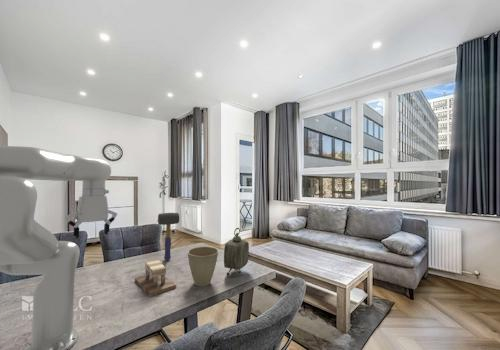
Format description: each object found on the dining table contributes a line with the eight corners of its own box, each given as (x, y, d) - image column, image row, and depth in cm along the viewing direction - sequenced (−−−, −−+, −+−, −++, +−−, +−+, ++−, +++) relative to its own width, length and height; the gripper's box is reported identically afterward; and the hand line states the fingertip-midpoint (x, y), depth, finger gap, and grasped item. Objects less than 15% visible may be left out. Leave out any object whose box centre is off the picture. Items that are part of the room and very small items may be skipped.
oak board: (165, 274, 107) (165, 268, 107) (152, 277, 104) (152, 270, 104) (157, 265, 118) (157, 259, 119) (145, 267, 115) (145, 261, 115)
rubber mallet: (157, 263, 138) (159, 214, 139) (156, 259, 144) (157, 212, 145) (178, 260, 144) (180, 213, 145) (176, 256, 150) (177, 211, 151)
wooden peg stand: (176, 287, 108) (176, 273, 108) (150, 296, 100) (150, 281, 100) (158, 274, 122) (159, 262, 122) (134, 281, 114) (135, 268, 114)
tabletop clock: (234, 267, 135) (235, 225, 136) (249, 269, 132) (250, 226, 132) (223, 276, 122) (224, 229, 122) (238, 279, 118) (239, 231, 119)
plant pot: (181, 282, 113) (182, 250, 114) (206, 274, 124) (207, 245, 124) (197, 293, 103) (198, 258, 103) (223, 283, 113) (224, 251, 114)
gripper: (115, 192, 100) (113, 231, 100) (65, 193, 88) (63, 237, 88) (120, 193, 95) (118, 234, 95) (67, 194, 83) (65, 241, 83)
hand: (92, 235), depth 91 cm, fingers open, 9 cm apart
